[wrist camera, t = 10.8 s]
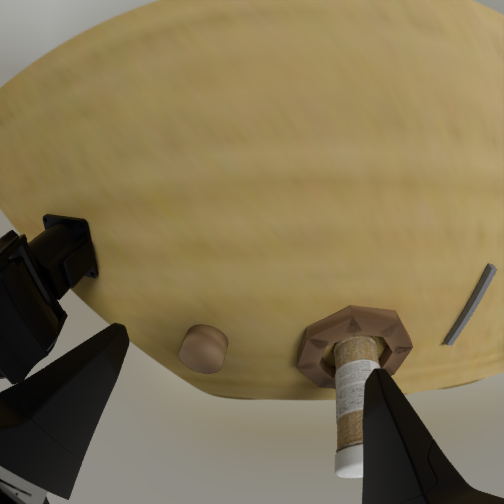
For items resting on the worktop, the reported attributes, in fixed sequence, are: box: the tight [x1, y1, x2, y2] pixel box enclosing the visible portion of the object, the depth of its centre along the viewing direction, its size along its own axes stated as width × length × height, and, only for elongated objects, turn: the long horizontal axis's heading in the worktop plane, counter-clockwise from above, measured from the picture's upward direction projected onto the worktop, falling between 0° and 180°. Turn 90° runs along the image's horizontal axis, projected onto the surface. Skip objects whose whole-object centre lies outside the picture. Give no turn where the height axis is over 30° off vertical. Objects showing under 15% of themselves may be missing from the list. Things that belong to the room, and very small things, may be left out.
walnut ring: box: [297, 305, 413, 388], centre depth 25 cm, size 11×11×2 cm
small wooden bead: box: [179, 325, 228, 374], centre depth 27 cm, size 4×4×3 cm
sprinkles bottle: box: [333, 334, 380, 478], centre depth 20 cm, size 5×5×14 cm
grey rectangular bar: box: [445, 264, 497, 345], centre depth 21 cm, size 10×1×1 cm, turn 175°
